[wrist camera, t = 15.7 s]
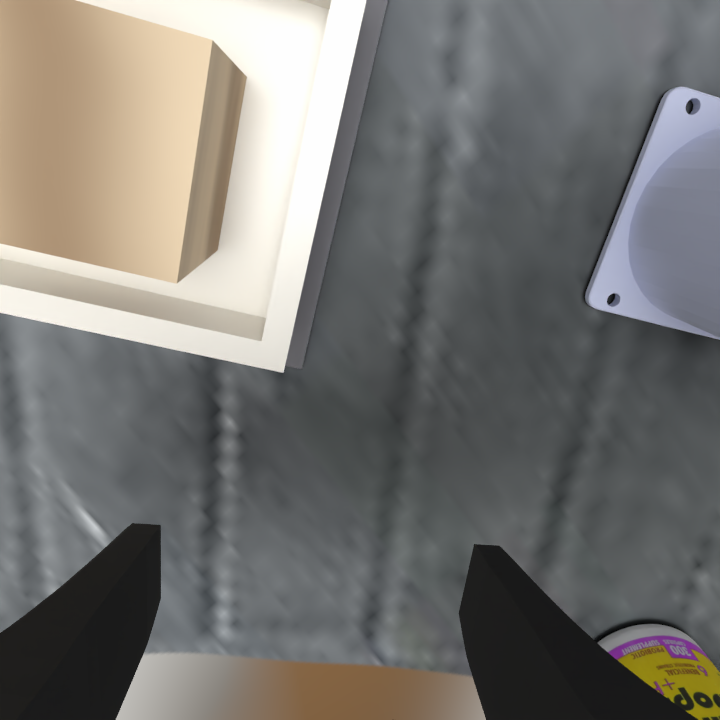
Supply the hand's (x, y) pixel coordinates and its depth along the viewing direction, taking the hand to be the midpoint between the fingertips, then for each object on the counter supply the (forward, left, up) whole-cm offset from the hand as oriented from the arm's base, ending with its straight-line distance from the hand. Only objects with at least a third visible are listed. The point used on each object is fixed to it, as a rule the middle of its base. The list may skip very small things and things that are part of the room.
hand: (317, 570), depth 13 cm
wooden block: (+7, -8, -7) cm, 13 cm away
